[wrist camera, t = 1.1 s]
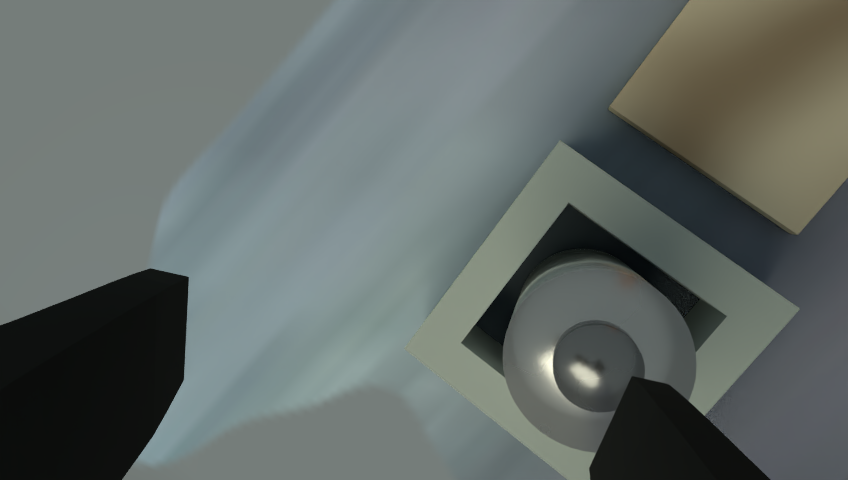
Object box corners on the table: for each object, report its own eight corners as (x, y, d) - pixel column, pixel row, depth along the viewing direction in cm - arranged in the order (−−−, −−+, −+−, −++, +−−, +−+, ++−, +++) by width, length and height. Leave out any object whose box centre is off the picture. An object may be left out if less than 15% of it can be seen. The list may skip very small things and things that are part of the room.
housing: (760, 292, 18) (800, 308, 16) (604, 470, 20) (614, 516, 17) (558, 149, 20) (559, 140, 17) (424, 328, 21) (404, 348, 18)
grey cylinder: (677, 301, 19) (748, 356, 12) (594, 399, 20) (617, 502, 13) (569, 222, 20) (578, 233, 13) (493, 321, 20) (462, 380, 14)
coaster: (952, 46, 17) (967, 40, 16) (789, 233, 18) (797, 234, 18) (748, -78, 18) (755, -87, 17) (607, 109, 19) (609, 106, 19)
